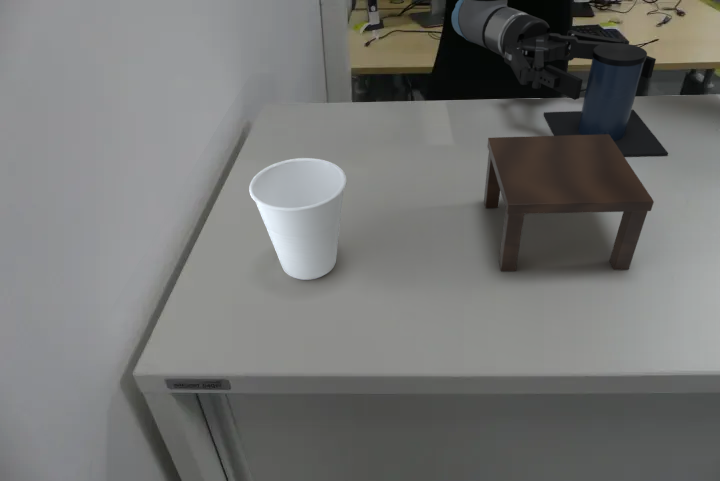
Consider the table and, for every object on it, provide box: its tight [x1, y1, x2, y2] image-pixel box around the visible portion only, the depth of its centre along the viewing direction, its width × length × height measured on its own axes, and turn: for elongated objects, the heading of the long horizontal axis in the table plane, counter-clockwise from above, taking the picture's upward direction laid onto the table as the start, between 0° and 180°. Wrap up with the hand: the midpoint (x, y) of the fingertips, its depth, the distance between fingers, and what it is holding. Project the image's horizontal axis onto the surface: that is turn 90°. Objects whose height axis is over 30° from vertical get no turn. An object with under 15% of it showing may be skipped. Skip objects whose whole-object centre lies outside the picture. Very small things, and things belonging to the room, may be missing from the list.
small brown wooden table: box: [483, 134, 655, 272], centre depth 63 cm, size 14×14×9 cm
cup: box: [248, 157, 348, 281], centre depth 60 cm, size 10×10×11 cm
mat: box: [543, 109, 669, 158], centre depth 84 cm, size 14×14×1 cm
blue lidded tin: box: [578, 43, 648, 141], centre depth 80 cm, size 7×7×12 cm
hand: (616, 79), depth 78 cm, fingers open, 13 cm apart
